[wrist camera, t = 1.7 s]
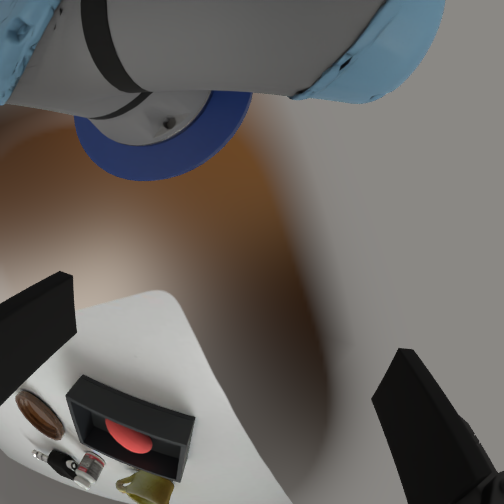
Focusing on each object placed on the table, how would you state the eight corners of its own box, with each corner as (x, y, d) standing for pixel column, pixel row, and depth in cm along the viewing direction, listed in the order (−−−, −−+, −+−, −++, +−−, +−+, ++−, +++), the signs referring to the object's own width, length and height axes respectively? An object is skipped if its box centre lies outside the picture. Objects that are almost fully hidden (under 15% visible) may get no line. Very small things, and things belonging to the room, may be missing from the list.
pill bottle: (93, 450, 44) (77, 479, 34) (109, 464, 45) (95, 492, 35) (82, 451, 45) (67, 477, 35) (98, 464, 46) (84, 490, 36)
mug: (181, 483, 41) (160, 517, 32) (180, 486, 46) (162, 515, 38) (129, 454, 42) (107, 486, 34) (134, 461, 48) (115, 489, 40)
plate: (14, 379, 40) (8, 385, 38) (58, 408, 40) (52, 415, 38) (29, 415, 44) (24, 421, 42) (71, 441, 44) (66, 448, 42)
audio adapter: (88, 488, 44) (38, 467, 47) (94, 476, 49) (44, 457, 52) (65, 467, 41) (18, 445, 44) (73, 454, 46) (26, 436, 49)
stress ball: (139, 404, 37) (108, 418, 32) (163, 449, 36) (136, 466, 30) (125, 403, 40) (97, 416, 34) (148, 445, 38) (122, 460, 33)
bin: (82, 374, 36) (65, 395, 30) (195, 417, 36) (186, 445, 31) (92, 423, 40) (80, 442, 34) (186, 459, 40) (180, 482, 35)
